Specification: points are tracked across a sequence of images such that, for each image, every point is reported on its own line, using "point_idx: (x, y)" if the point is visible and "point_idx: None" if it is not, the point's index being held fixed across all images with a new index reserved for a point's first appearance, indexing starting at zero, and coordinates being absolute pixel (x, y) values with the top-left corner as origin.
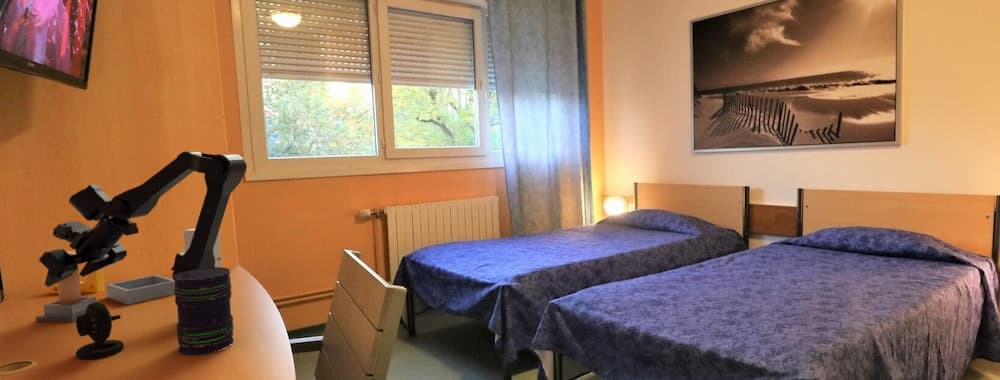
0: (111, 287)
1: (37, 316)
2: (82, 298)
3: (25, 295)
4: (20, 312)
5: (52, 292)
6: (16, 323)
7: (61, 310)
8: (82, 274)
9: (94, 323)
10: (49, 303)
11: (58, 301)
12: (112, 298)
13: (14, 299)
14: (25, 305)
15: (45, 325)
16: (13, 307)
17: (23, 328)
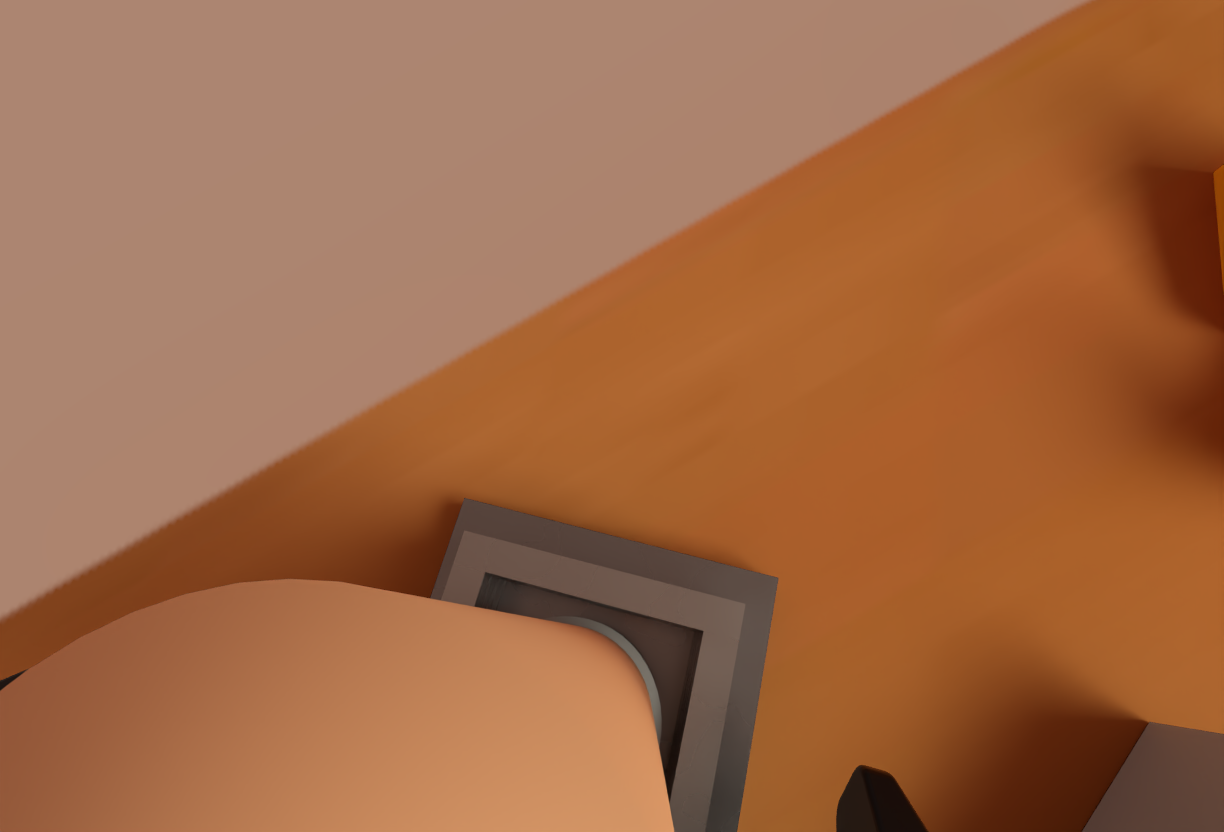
0: None
1: (477, 502)
2: (672, 789)
3: (1146, 54)
4: (730, 265)
5: (1222, 178)
6: (461, 397)
7: None
8: (852, 826)
9: None
10: (504, 554)
11: (574, 594)
12: (1090, 827)
13: (1046, 52)
14: (900, 195)
15: None
16: (856, 155)
17: (316, 519)
